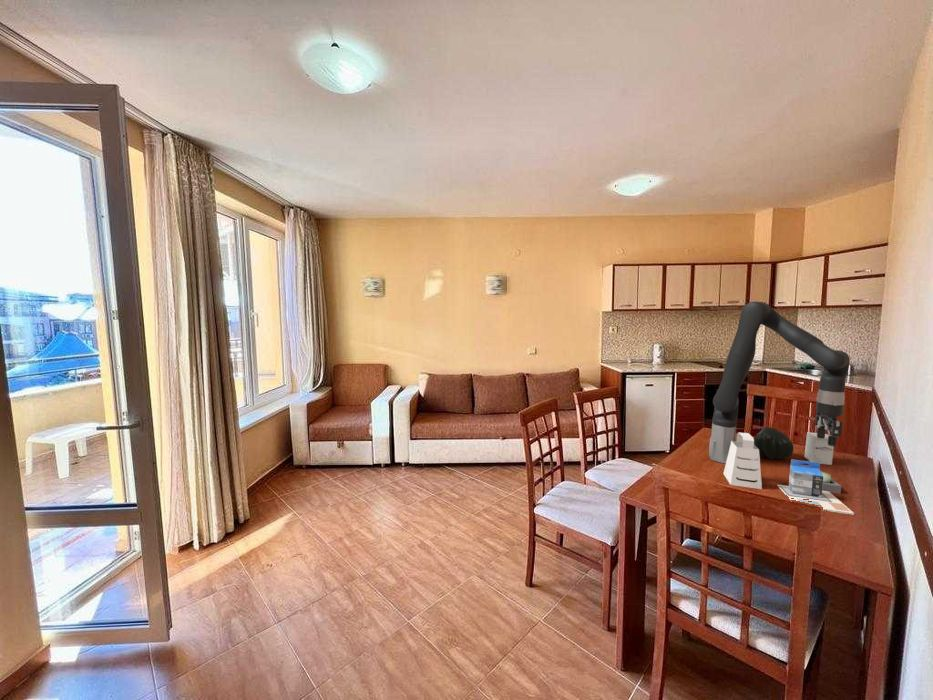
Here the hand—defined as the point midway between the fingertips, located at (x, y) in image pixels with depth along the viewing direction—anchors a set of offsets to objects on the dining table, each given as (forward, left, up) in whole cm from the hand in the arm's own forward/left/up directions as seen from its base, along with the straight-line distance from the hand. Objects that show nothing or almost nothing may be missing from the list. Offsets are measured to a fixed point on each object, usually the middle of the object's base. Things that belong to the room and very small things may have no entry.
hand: (826, 441), depth 142 cm
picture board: (-7, -12, -19) cm, 24 cm away
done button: (+1, +1, -18) cm, 18 cm away
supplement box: (+12, +31, -19) cm, 39 cm away
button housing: (+1, +1, -19) cm, 19 cm away
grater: (-27, -4, -19) cm, 34 cm away
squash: (-6, +30, -20) cm, 36 cm away
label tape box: (-9, -9, -19) cm, 23 cm away
